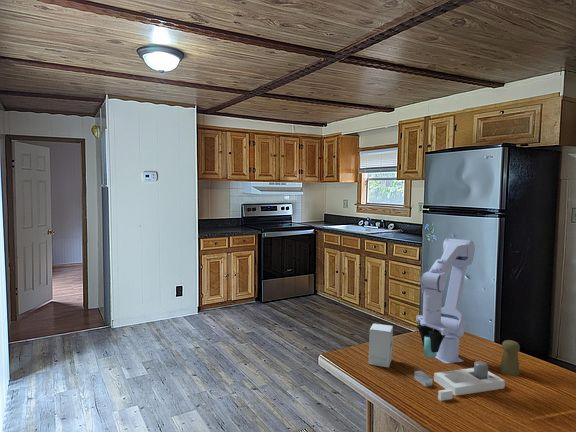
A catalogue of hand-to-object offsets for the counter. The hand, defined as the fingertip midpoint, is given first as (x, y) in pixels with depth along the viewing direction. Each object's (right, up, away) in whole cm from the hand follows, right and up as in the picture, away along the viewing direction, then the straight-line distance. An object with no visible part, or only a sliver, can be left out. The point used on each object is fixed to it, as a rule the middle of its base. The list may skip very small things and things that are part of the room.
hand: (430, 349), depth 135 cm
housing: (+9, -9, -7) cm, 15 cm away
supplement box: (-14, -8, +10) cm, 19 cm away
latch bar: (-4, -9, -6) cm, 12 cm away
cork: (+27, -9, +2) cm, 29 cm away
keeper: (-1, -10, -16) cm, 19 cm away
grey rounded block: (+14, -9, -6) cm, 17 cm away
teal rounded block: (0, -2, 0) cm, 2 cm away
